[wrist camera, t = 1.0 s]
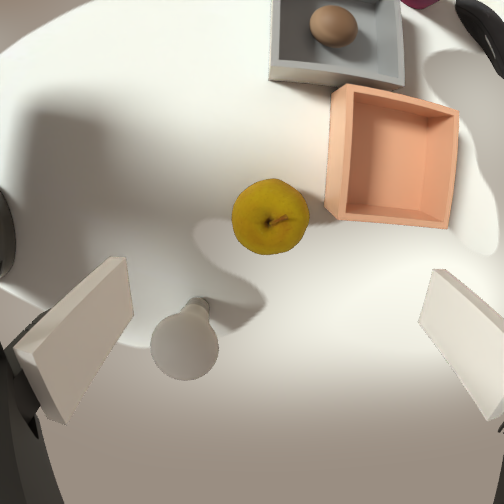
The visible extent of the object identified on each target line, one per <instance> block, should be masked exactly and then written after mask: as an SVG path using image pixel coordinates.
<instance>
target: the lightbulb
mask: <svg viewBox="0 0 504 504" xmlns="http://www.w3.org/2000/svg"><path fill="white" fill-rule="evenodd" d="M150 349H151V355H152V357H153V360H154V362H155V364H156V365H157V366H158V368H159V369H160V370H161V371H162V372H163V373H164V374H166V375H167V376H169V377H171V378H174V379H177V380H184V381H185V380H194V379H197V378H199V377H202V376H203V375H205V374H206V373H208V371H210V370H211V368H212V367H213V365H214V364H215V362H216V360H217V357H218V351H219V346H218V340H217V336H216V334H215V332H214V330H213V329H212V327H211V326H210V324H209V305H208V303H207V302H206V301H205V300H204V299H202V298H199V297H195V298H192V299H190V300H189V301H188V303H187V304H186V306H185V307H183V308H182V309H181V311H180V313H177V314H174V315H171V316H168V317H166V318H165V319H163V320H162V321H161V322H160V323H159V324H158V325H157V326H156V328H155V330H154V332H153V334H152V337H151V342H150Z"/></svg>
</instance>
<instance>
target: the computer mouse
mask: <svg viewBox="0 0 504 504" xmlns="http://www.w3.org/2000/svg"><path fill="white" fill-rule="evenodd" d="M456 11H457V14H458V16H459V18H460V20H461V21H462V23H463V25H464V26H465V28H466V29H467V31H468V32H469V33H470V35H471V36H472V37H473V38H474V39H475V40H476V41H477V42H478V44H479V45H480V46H481V47H482V48H483V50H484V51H485V54H486V55H487V57H488V58H489V60H490V62H491V63H492V65H493V67H494V69H495V71H496V72H497V74H498V75H499V76H501V77H502V78H503V79H504V22H503V21H502V19H501V18H500V17H499V16H498V15H497V14H496V13H495V12H494V11H493V10H492V9H491V8H489V7H488V6H486V5H485V4H483V3H481V2H479V1H477V0H456Z"/></svg>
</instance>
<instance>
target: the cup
mask: <svg viewBox="0 0 504 504" xmlns="http://www.w3.org/2000/svg"><path fill="white" fill-rule="evenodd" d="M401 1H402V2H403V3H404V4H406V5H408V6H410V7H412V8H415V9H424V8H426V7H428V6H430V5H432V4H434V3H435V2H437V1H439V0H401Z"/></svg>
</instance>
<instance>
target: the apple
mask: <svg viewBox="0 0 504 504" xmlns="http://www.w3.org/2000/svg"><path fill="white" fill-rule="evenodd" d="M309 218H310V216H309V210H308V207H307V204H306V201H305V199H304V198H303V196H302V195H301V194H300V193H299V192H298V191H297V190H296V189H295V188H293V187H292V186H290V185H289V184H287V183H285V182H283V181H281V180H279V179H266V180H262V181H259V182H256V183H254V184H253V185H251V186H249V187H248V188H247V189H245V190H244V191H243V192H242V193H241V194H240V195H239V196H238V198H237V200H236V202H235V204H234V206H233V211H232V225H233V230H234V233H235V236H236V238H237V239H238V241H239V242H240V243H241V244H242V245H243V246H244V247H246V248H247V249H249V250H250V251H252V252H254V253H257V254H261V255H271V254H278V253H283V252H287V251H289V250H290V249H292V248H293V247H294V246H295V245H297V244H298V243H299V241H300V240H301V239H302V237H303V235H304V232H305V230H306V228H307V226H308V223H309Z"/></svg>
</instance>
